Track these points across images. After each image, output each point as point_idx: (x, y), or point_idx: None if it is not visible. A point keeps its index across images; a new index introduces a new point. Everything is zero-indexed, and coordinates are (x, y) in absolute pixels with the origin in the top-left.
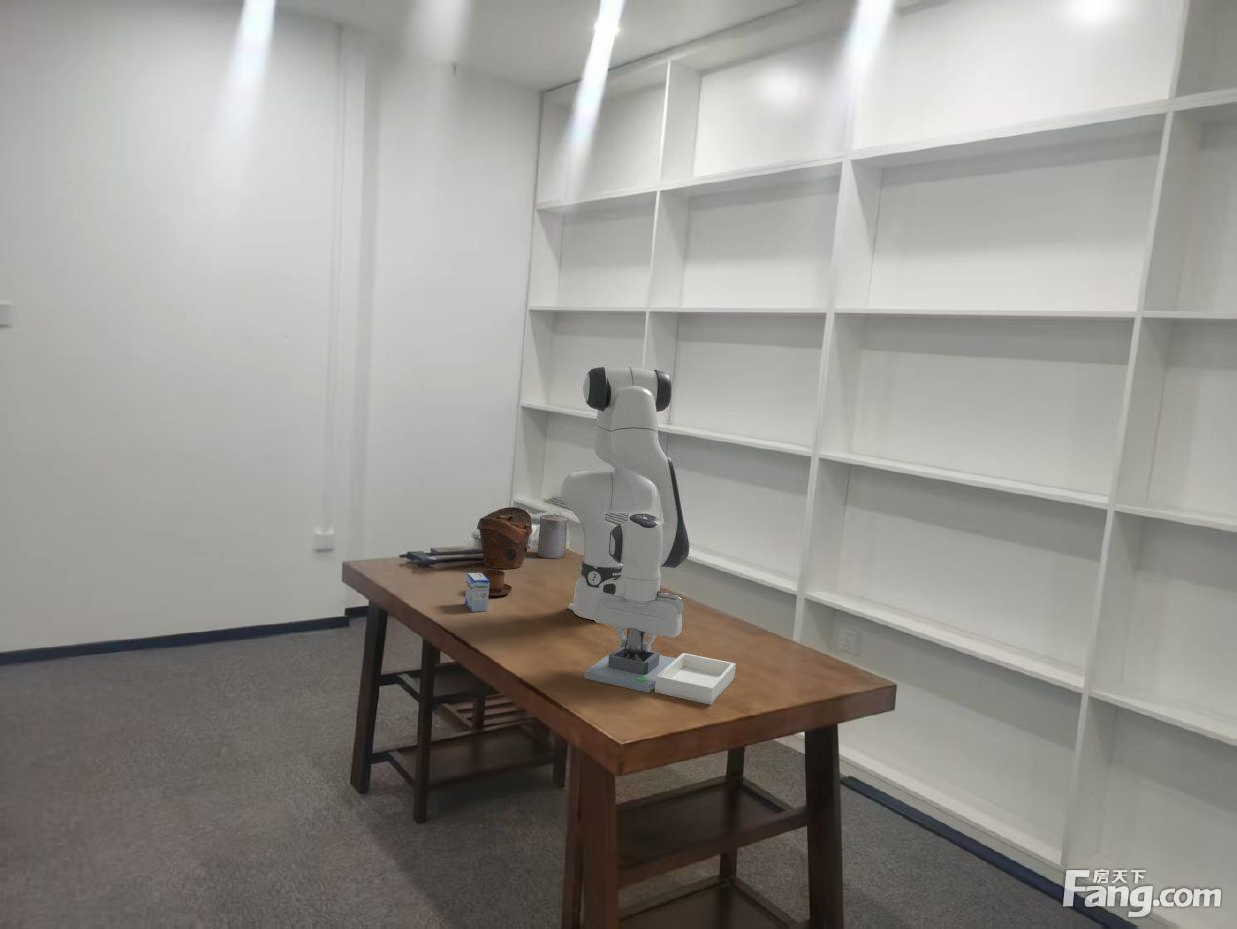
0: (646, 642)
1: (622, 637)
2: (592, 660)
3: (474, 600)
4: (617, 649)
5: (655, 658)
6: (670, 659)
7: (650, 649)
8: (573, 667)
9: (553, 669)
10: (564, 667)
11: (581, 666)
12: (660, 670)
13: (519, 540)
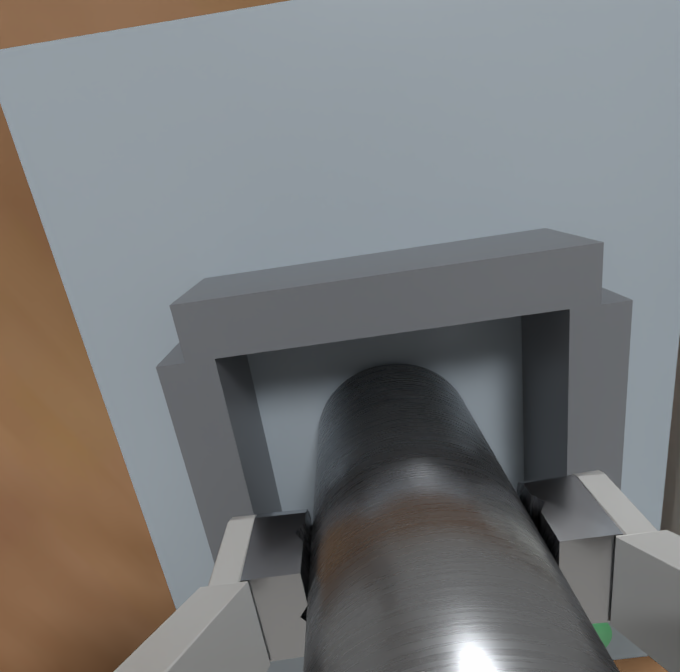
0: (591, 560)
1: (250, 669)
2: (26, 399)
3: None
4: (199, 478)
5: (619, 415)
6: (626, 30)
7: (601, 474)
8: (52, 577)
9: (5, 662)
10: (18, 608)
11: (70, 536)
12: (629, 386)
13: None
